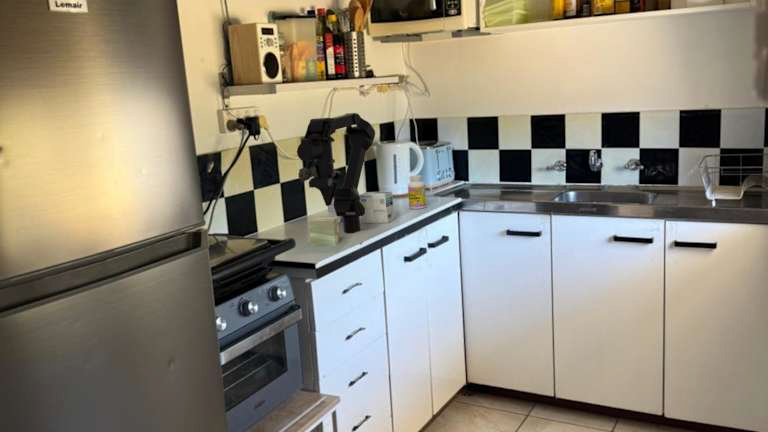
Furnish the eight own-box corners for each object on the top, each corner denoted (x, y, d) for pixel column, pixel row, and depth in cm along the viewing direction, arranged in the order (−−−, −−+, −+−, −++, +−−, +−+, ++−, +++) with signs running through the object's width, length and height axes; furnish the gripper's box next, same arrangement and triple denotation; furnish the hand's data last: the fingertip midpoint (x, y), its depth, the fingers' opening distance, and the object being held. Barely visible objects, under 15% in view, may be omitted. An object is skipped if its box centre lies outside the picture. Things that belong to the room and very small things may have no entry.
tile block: (315, 242, 231) (313, 218, 229) (339, 241, 229) (337, 217, 228) (311, 246, 226) (308, 221, 225) (335, 245, 224) (333, 220, 223)
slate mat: (308, 245, 232) (307, 242, 232) (349, 243, 230) (349, 240, 230) (292, 256, 217) (292, 254, 217) (337, 255, 214) (336, 252, 214)
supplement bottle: (406, 209, 285) (404, 177, 282) (413, 206, 290) (411, 175, 288) (421, 209, 281) (419, 177, 279) (428, 206, 287) (426, 174, 285)
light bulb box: (395, 219, 265) (392, 190, 263) (387, 223, 259) (385, 193, 257) (369, 219, 269) (366, 191, 267) (361, 223, 263) (358, 194, 261)
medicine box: (340, 222, 268) (338, 199, 266) (328, 223, 269) (326, 200, 267) (345, 218, 276) (343, 196, 274) (334, 219, 276) (331, 197, 275)
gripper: (308, 156, 241) (312, 201, 243) (290, 162, 223) (295, 211, 225) (340, 153, 239) (344, 200, 241) (325, 160, 221) (330, 210, 223)
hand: (328, 205), depth 233 cm, fingers closed
